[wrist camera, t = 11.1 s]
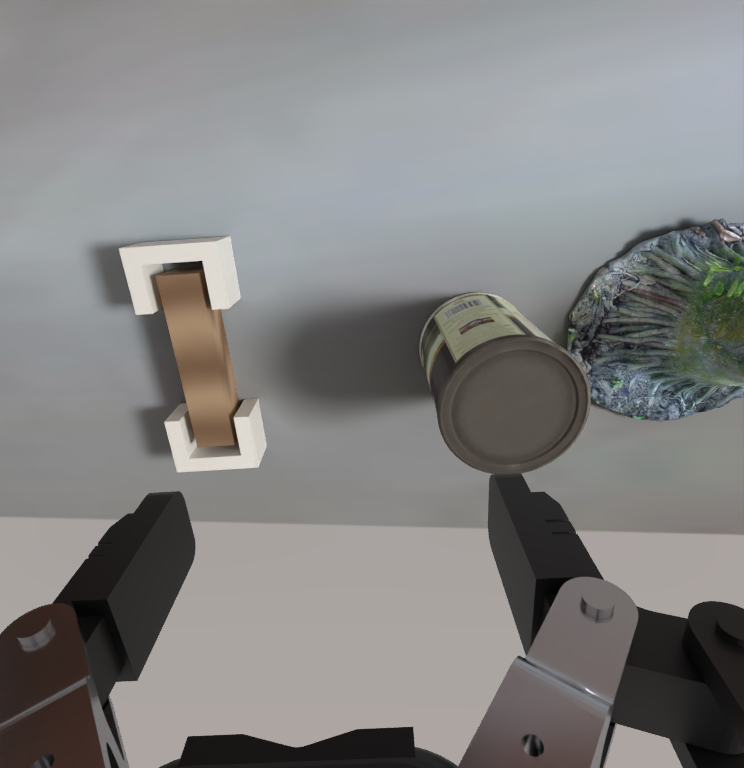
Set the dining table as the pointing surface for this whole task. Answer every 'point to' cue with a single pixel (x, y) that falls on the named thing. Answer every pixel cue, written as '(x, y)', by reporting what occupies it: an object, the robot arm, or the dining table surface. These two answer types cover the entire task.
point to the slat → (200, 355)
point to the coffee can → (501, 385)
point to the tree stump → (666, 325)
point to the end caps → (223, 292)
